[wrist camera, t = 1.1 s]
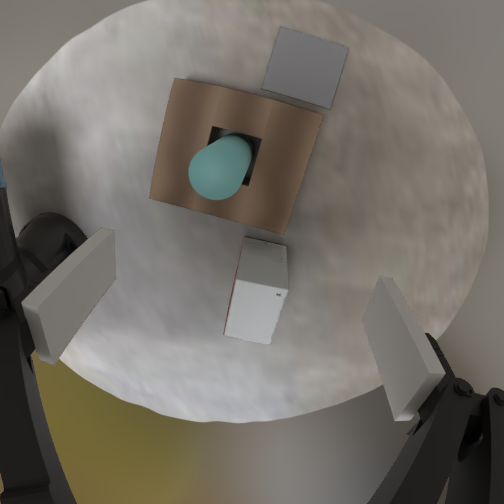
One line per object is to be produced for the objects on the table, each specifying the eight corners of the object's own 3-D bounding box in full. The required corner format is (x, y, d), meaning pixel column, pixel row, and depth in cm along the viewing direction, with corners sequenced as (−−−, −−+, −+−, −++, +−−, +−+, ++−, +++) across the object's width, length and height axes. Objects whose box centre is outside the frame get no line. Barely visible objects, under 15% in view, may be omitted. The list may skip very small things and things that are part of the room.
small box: (244, 235, 41) (235, 276, 32) (287, 245, 41) (290, 289, 32) (232, 287, 44) (221, 336, 35) (272, 295, 45) (270, 346, 35)
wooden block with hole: (160, 189, 39) (149, 198, 35) (184, 80, 33) (174, 77, 29) (283, 222, 40) (284, 235, 36) (318, 114, 34) (323, 115, 30)
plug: (212, 163, 37) (183, 192, 26) (221, 128, 35) (195, 140, 24) (248, 173, 37) (235, 206, 26) (258, 138, 36) (249, 154, 24)
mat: (261, 88, 33) (261, 88, 32) (280, 27, 29) (280, 26, 29) (328, 109, 33) (329, 109, 33) (347, 48, 30) (348, 48, 29)
